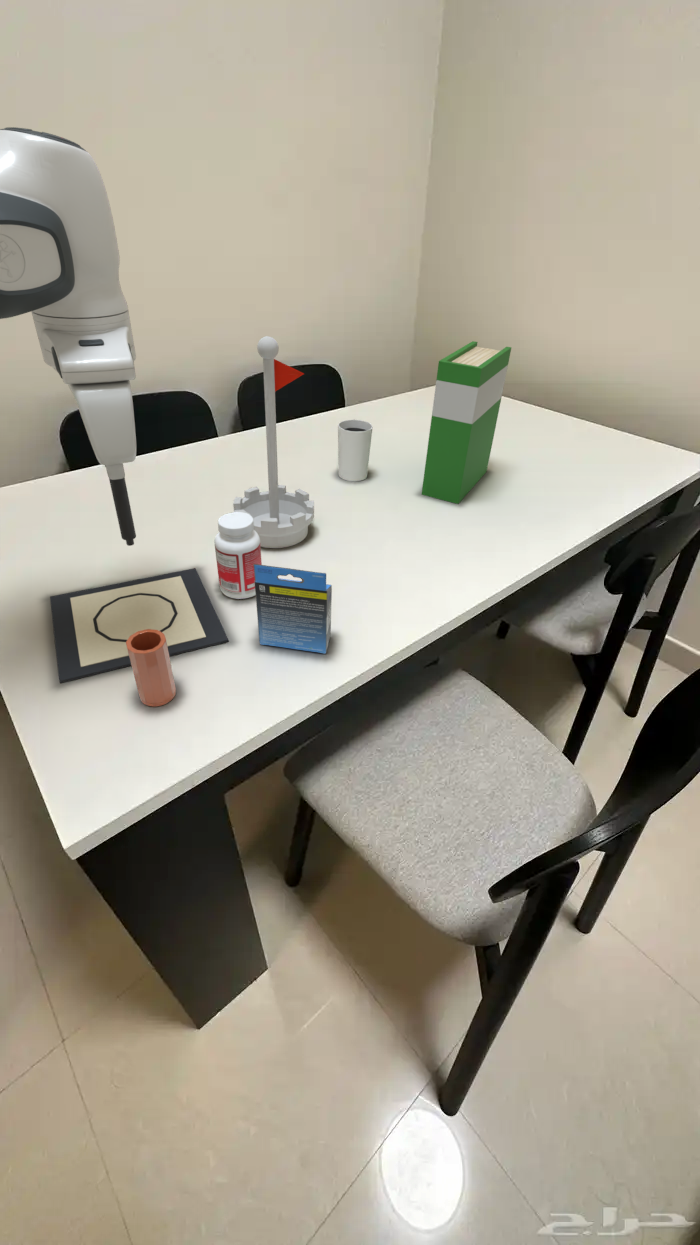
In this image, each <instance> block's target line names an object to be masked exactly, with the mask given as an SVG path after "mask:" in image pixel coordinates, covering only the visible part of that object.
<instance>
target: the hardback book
mask: <svg viewBox="0 0 700 1245" xmlns="http://www.w3.org/2000/svg"><path fill="white" fill-rule="evenodd" d="M511 351H512V347H511V346H505V347H504V348H502V349H501V350H500V349H493V348H488V347H481V346H478V341H475V340H472V341H470V342H469V343H467V344H466V345H463V346H462V347H461V348H459V349H457V350H455V351H453V352H452V353H450V354H448V355H447V356H445V357H443V358H441V359H440V360H439V361H438V365H437V373H436V379H435V386H434V387H435V388H434V396H433V403H432V411H431V418H430V426H429V435H428V441H427V449H426V457H425V465H424V473H423V480H422V488H421V489H422V490H421V495H422V496H424V497H425V496H426V497H429V498H433V499H437V500H441V501H445V502H449V503H452V504H455V505H459V504H460V503H461V502H462V501H463V499H465V497H466V496H467V495H468V494H469V493H470V491H471V490H472V489H473V488H474V487H475V486H476V485H477V484H478V482H479V481H480V480H481V479H482V478H483V476H484V475H485V474H486V473H487V472H488V467H489V462H490V458H491V452H492V446H493V442H494V438H495V432H496V428H497V422H498V417H499V412H500V406H501V402H502V397H503V393H504V386H505V382H506V377H507V372H508V368H509V363H510V357H511Z"/></svg>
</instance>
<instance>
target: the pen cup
mask: <svg viewBox="0 0 700 1245" xmlns="http://www.w3.org/2000/svg"><path fill="white" fill-rule="evenodd" d="M126 646H127V650H128V654H129V658H130V662H131V665H132V666H131V669H132V672H133V677H134V681H135V685H136V688H137V693H138V697H139V700H140V701H141V703H142V704H143V705H145V706H148V707H153V708H154V707H162V706H164V705H166V704H168V703H170V702H171V701H172V700H174V698H175V696H176V693H177V689H176V688H177V687H176V683H175V677H174V673H173V667H172V662H171V656H169V652H168V647H167V642H166V638H165V635H164V633H162V632H160V631H158V630H153V629H146V630H141V631H138V632H136V633H134V634H133V635H131V636H130V637H129V638H128V640H127V641H126Z"/></svg>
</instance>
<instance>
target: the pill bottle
mask: <svg viewBox="0 0 700 1245" xmlns="http://www.w3.org/2000/svg"><path fill="white" fill-rule="evenodd" d="M217 529H218V532H217V533H216V535H215V537H214V541H213V542H214V549H215V550H214V551H215V560H216V568H217V575H218V583H219V589H220V592H222V594H223V595H224V596H226V597H228V598H230V599H237V600H239V599H240V600H242V599H248V598H252V597H255V596H256V593H255V575H254V565H253V564H260V565H263V564H262V550H261V549H262V547H260V538H259V535H258V533H257V532H256V531H255V530H253V529H254V522H253V518H252V516H251V515H249V514H247V513H243V512H234V511H233V512H227V513H225V514H222V515H220V517H219V518H218V519H217Z"/></svg>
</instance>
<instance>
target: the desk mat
mask: <svg viewBox="0 0 700 1245" xmlns="http://www.w3.org/2000/svg"><path fill="white" fill-rule="evenodd" d="M49 600H50V601H49V602H50V610H51V618H52V627H53V635H54V636H53V637H54V645H55V653H56V654H55V656H56V662H57V663H56V665H57V673H58V681H59V683H60V684H63V683H67V682H71V681H75V680H79V679H83V678H87V677H91V676H96V675H99V674H104V673H109V672H111V671H115V670H119V669H124V668H127V667H132V665H131V662H130V658H129V654H128V650H127V646H126V641H127V640H128V638H129V637H130V636H131V635H133V634H134V633H136V632H138V631H141V630H146V629H153V630H158V631H160V632H162V633H164V635H165V638H166V642H167V647H168V652H169V657H172V656H177V655H181V654H185V653H189V652H193V651H197V650H200V649H205V648H209V647H213V646H217V645H221V644H226V643H228V642H229V638H228V635H227V633H226V631H225V629H224V626H223V625H222V622H221V621H220V619H219V616H218V614H217V612H216V609H215V608H214V605H213V603H212V601H211V599H210V596H209V594H208V593H207V590H206V588H205V585H204V584H203V581H202V579H201V577H200V575H199V573H198V570H197V569H196V567H194V568H188V569H184V570H183V569H182V570H178V571H173V572H168V573H164V574H158V575H153V576H148V577H143V578H137V579H132V580H128V581H127V580H126V581H122V582H117V583H112V584H106V585H103V586H96V587H92V588H86V589H81V590H77V591H71V592H66V593H60V594H56V595H51V596H49Z"/></svg>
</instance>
